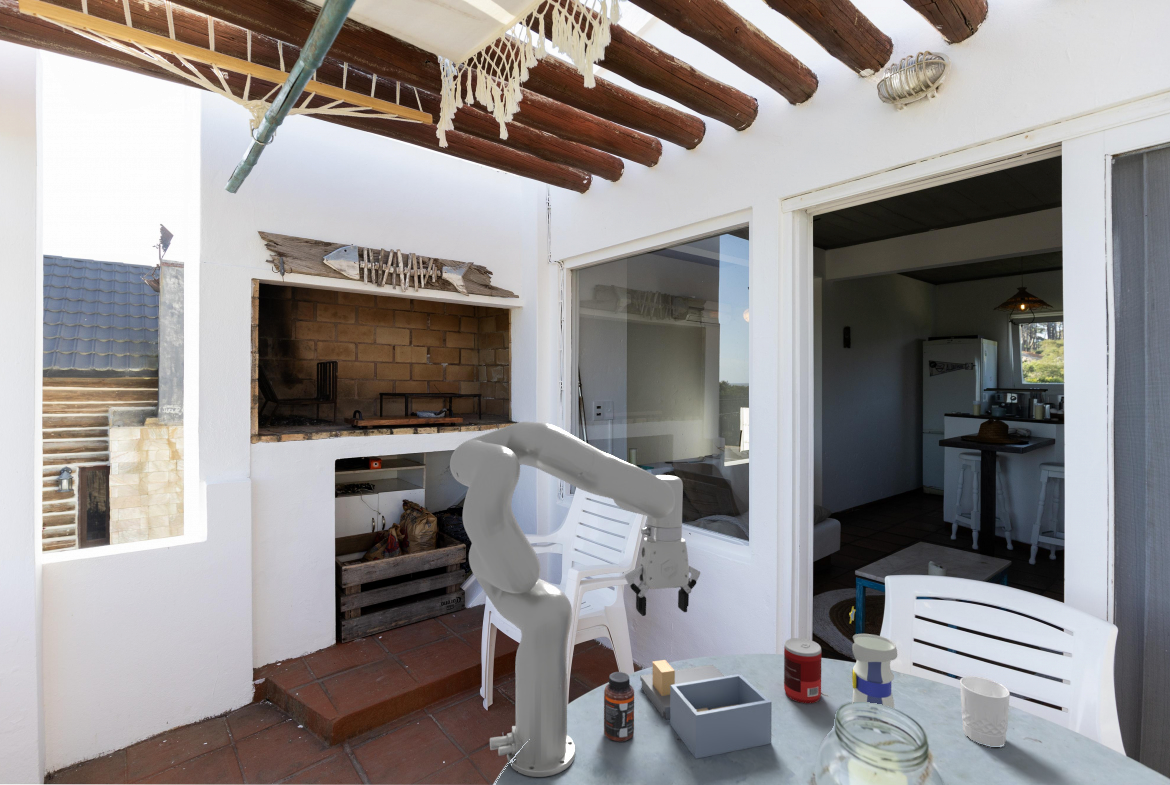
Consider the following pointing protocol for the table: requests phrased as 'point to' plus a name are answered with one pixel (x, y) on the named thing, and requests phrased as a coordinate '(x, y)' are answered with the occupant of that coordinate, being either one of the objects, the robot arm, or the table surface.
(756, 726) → the tub
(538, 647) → the robot arm
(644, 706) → the table surface
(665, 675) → the lid
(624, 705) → the supplement bottle
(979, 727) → the white cup
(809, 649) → the canned food
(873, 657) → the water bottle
